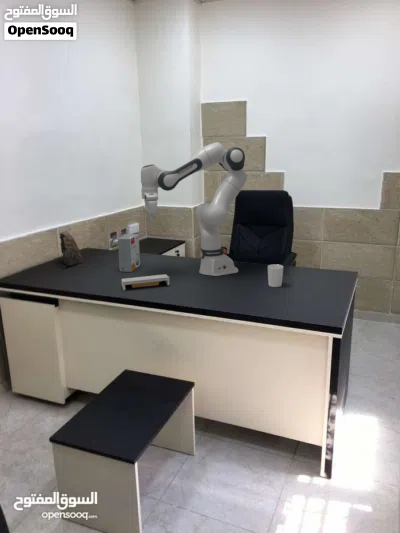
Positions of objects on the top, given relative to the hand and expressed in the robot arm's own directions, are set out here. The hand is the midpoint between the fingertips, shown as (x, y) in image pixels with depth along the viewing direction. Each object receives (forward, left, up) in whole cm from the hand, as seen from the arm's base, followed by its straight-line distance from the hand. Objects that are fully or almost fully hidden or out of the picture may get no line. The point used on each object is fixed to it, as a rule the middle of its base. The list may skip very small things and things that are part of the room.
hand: (151, 220), depth 233 cm
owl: (+46, -43, -31) cm, 70 cm away
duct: (+8, +20, -31) cm, 38 cm away
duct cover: (+8, +21, -28) cm, 36 cm away
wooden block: (+8, +19, -32) cm, 38 cm away
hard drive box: (+12, -16, -31) cm, 37 cm away
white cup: (-56, +42, -31) cm, 77 cm away
